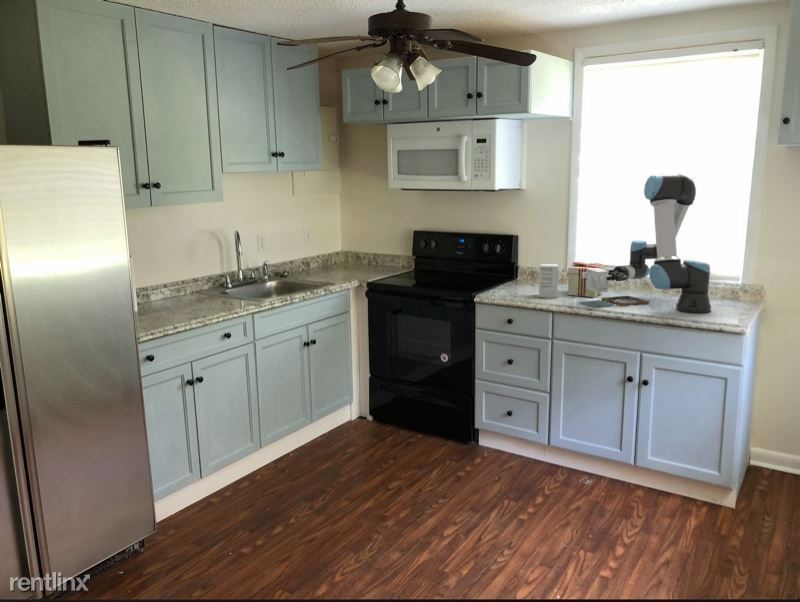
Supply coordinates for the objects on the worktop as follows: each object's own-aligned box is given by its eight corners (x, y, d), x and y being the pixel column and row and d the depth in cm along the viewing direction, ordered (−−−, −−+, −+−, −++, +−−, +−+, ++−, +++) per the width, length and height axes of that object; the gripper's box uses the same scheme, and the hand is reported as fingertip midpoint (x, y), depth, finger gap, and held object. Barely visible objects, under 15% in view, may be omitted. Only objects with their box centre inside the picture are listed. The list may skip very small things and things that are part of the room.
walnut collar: (648, 304, 332) (648, 301, 331) (621, 306, 326) (621, 303, 326) (627, 298, 346) (627, 295, 346) (601, 300, 341) (601, 297, 341)
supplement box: (557, 298, 348) (558, 266, 345) (538, 298, 350) (540, 266, 347) (556, 295, 357) (557, 263, 354) (538, 294, 359) (539, 263, 356)
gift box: (604, 292, 364) (605, 260, 361) (597, 298, 348) (598, 265, 345) (572, 290, 372) (574, 259, 368) (564, 295, 356) (565, 263, 352)
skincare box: (585, 288, 336) (586, 268, 334) (597, 288, 337) (598, 267, 335) (595, 292, 326) (597, 271, 324) (608, 292, 327) (609, 270, 325)
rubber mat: (614, 305, 329) (614, 304, 328) (593, 307, 325) (593, 306, 325) (599, 301, 340) (599, 300, 340) (579, 303, 336) (579, 301, 336)
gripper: (641, 284, 329) (609, 288, 319) (605, 277, 350) (573, 280, 339) (642, 269, 328) (610, 272, 317) (605, 262, 348) (574, 266, 338)
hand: (591, 277), depth 328 cm, fingers closed on skincare box, 11 cm apart
